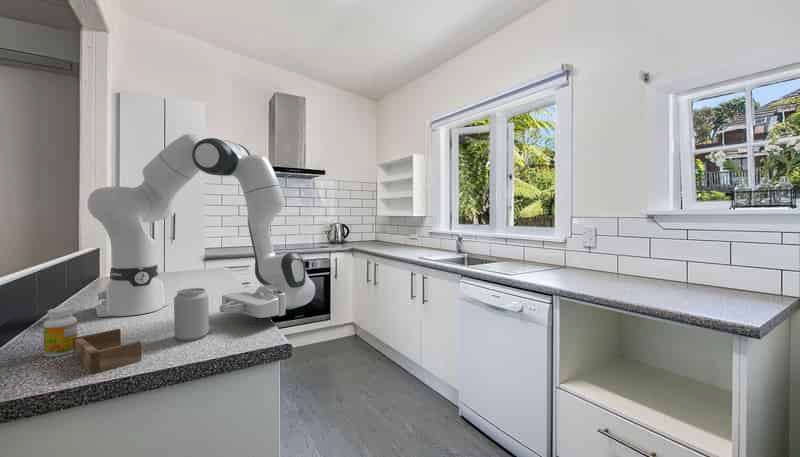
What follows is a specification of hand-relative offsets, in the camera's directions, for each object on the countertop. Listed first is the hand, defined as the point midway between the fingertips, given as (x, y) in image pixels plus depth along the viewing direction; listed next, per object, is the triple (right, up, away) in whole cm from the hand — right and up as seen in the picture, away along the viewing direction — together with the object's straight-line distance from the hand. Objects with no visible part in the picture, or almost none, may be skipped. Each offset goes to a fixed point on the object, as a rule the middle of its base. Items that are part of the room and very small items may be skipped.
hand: (222, 309), depth 94 cm
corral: (-15, -6, -20) cm, 25 cm away
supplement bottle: (-27, -6, -17) cm, 33 cm away
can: (-5, -6, -6) cm, 9 cm away
